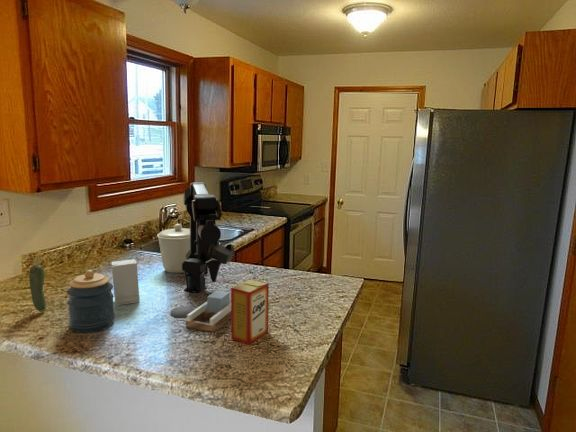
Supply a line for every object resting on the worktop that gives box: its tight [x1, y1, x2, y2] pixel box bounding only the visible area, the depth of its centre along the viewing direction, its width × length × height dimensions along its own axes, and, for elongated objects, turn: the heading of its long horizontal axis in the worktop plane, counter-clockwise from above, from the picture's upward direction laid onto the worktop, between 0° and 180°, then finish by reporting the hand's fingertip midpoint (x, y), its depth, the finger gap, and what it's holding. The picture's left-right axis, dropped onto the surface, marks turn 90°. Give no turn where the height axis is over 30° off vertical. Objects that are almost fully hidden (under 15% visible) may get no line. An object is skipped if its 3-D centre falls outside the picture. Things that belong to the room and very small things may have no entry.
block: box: [206, 290, 230, 313], centre depth 139 cm, size 5×6×5 cm
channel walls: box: [186, 301, 231, 326], centre depth 135 cm, size 9×14×2 cm, turn 161°
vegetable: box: [28, 253, 47, 313], centre depth 137 cm, size 4×4×20 cm
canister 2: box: [156, 223, 190, 274], centre depth 185 cm, size 18×18×21 cm
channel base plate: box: [185, 294, 231, 333], centre depth 140 cm, size 10×25×2 cm, turn 161°
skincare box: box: [111, 258, 141, 307], centre depth 148 cm, size 8×6×15 cm
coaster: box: [170, 306, 196, 319], centre depth 141 cm, size 8×8×1 cm
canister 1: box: [66, 269, 116, 333], centre depth 129 cm, size 13×13×18 cm
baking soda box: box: [230, 278, 270, 345], centre depth 124 cm, size 10×6×16 cm
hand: (206, 285), depth 130 cm, fingers open, 9 cm apart
